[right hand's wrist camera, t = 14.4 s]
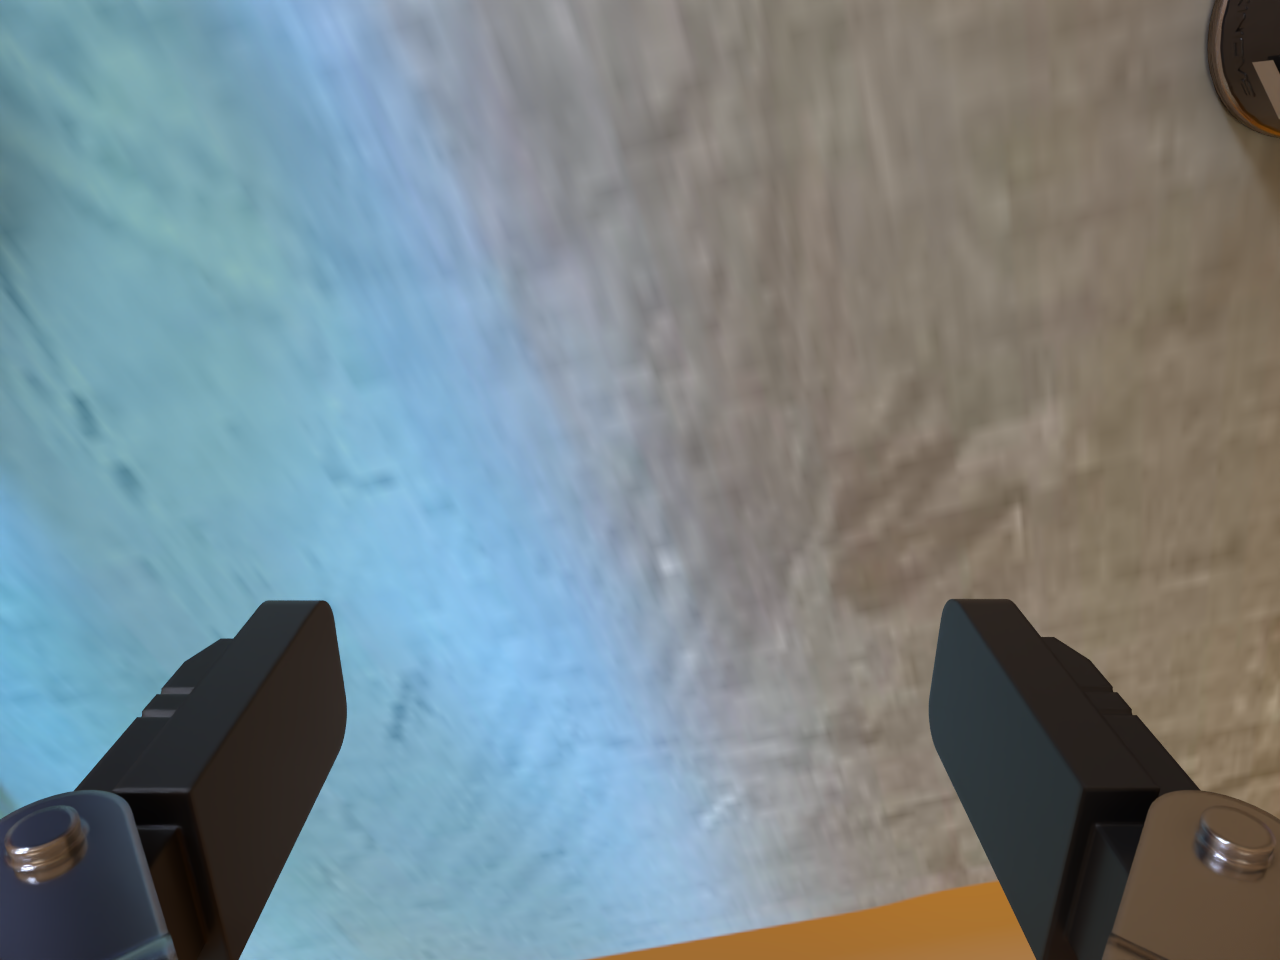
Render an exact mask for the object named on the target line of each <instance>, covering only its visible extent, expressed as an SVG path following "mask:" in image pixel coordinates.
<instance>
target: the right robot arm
mask: <svg viewBox="0 0 1280 960" xmlns="http://www.w3.org/2000/svg"><path fill="white" fill-rule="evenodd" d="M1208 62H1209V68H1210V73H1211V77H1212V80H1213V83H1214V86H1215V88H1216V91H1217V93H1218V95H1219V97H1220V99H1221V100H1222V102H1223V103H1224V105H1225V106H1226V108H1227V109H1228V110H1229V111H1230V112H1231V113H1232V115H1233V116H1234V117H1235V118H1237V119H1238V120H1239V121H1240V122H1241V123H1243V124H1244V125H1246V126H1247V127H1249V128H1251V129H1253V130H1255V131H1257V132H1259V133H1262V134H1265V135H1268V136H1273V137H1278V138H1280V0H1216V1H1215V4H1214V7H1213V11H1212V15H1211V20H1210V25H1209V33H1208ZM161 690H162V691H161V694H157V695H156V696H155V697H154V698H153V699H152V700H151V702H150V703H149V704H148V705H147V706H146V707H145V709H144V710H143V711H142V717H137V718H136V719H135V720H134V721H133V723H132V724H131V725H130V726H129V727H128V728H127V730H126V731H125V732H124V733H123V734H122V735H121V737H120V738H119V739H118V740H117V741H116V742H115V744H114V745H113V746H112V747H111V748H110V749H109V751H108V752H107V753H106V754H105V755H104V756H103V758H102V759H101V760H100V761H99V762H98V763H97V765H96V766H95V767H94V768H93V769H92V770H91V772H90V773H89V774H88V775H87V776H86V777H85V779H84V780H83V781H82V782H81V783H80V784H79V786H78V787H77V788H76V789H75V790H74V791H73V792H67V793H62V794H58V795H54V796H51V797H48V798H44V799H41V800H38V801H36V802H34V803H31V804H29V805H26V806H24V807H22V808H20V809H18V810H16V811H14V812H12V813H10V814H9V815H7V816H5V817H4V818H2V819H0V960H239V958H240V956H241V954H242V952H243V949H244V947H245V945H246V943H247V941H248V939H249V937H250V935H251V933H252V931H253V929H254V927H255V925H256V923H257V921H258V919H259V916H260V914H261V912H262V910H263V908H264V906H265V904H266V902H267V900H268V898H269V896H270V894H271V892H272V890H273V888H274V885H275V883H276V881H277V879H278V877H279V875H280V873H281V871H282V869H283V867H284V865H285V863H286V861H287V859H288V857H289V854H290V852H291V850H292V848H293V846H294V844H295V842H296V840H297V838H298V836H299V834H300V832H301V830H302V828H303V826H304V824H305V821H306V819H307V817H308V815H309V813H310V811H311V809H312V807H313V805H314V803H315V801H316V799H317V797H318V795H319V793H320V790H321V788H322V786H323V784H324V782H325V780H326V778H327V776H328V774H329V772H330V770H331V768H332V766H333V764H334V762H335V759H336V757H337V755H338V753H339V751H340V749H341V746H342V743H343V739H344V734H345V729H346V719H347V703H346V695H345V688H344V682H343V675H342V668H341V662H340V655H339V648H338V642H337V635H336V628H335V622H334V616H333V612H332V609H331V607H330V605H329V604H328V603H327V602H326V601H265V602H263V603H262V604H261V605H260V606H259V607H258V609H257V610H256V611H255V612H254V614H253V615H252V616H251V617H250V619H249V620H248V621H247V622H246V624H245V625H244V626H243V627H242V629H241V630H240V631H239V632H238V634H237V635H236V636H235V637H234V639H219V640H218V641H216V642H215V643H213V644H212V645H210V646H209V647H207V648H205V649H204V650H202V651H201V652H199V653H198V654H196V655H194V656H193V657H191V658H190V659H188V660H187V661H185V662H184V663H183V664H182V665H181V667H180V668H179V669H178V670H177V671H176V672H175V674H174V675H173V676H172V677H171V678H170V679H169V681H168V682H167V683H166V684H165V685H164V686H163V688H162V689H161ZM929 722H930V729H931V735H932V739H933V742H934V745H935V748H936V750H937V753H938V755H939V757H940V759H941V761H942V763H943V765H944V767H945V769H946V771H947V773H948V776H949V778H950V780H951V782H952V784H953V786H954V788H955V790H956V792H957V794H958V796H959V799H960V801H961V803H962V805H963V807H964V809H965V811H966V813H967V815H968V817H969V819H970V822H971V824H972V826H973V828H974V830H975V832H976V834H977V836H978V838H979V840H980V842H981V845H982V847H983V849H984V851H985V853H986V855H987V857H988V859H989V861H990V863H991V865H992V868H993V870H994V872H995V874H996V876H997V878H998V880H999V882H1000V884H1001V886H1002V888H1003V891H1004V893H1005V895H1006V897H1007V899H1008V901H1009V903H1010V905H1011V907H1012V909H1013V911H1014V914H1015V916H1016V918H1017V920H1018V922H1019V924H1020V926H1021V928H1022V930H1023V932H1024V934H1025V937H1026V939H1027V941H1028V943H1029V945H1030V947H1031V949H1032V951H1033V953H1034V955H1035V957H1036V960H1280V819H1278V818H1276V817H1275V816H1273V815H1271V814H1270V813H1268V812H1266V811H1264V810H1262V809H1260V808H1258V807H1256V806H1254V805H1251V804H1249V803H1246V802H1244V801H1242V800H1239V799H1236V798H1232V797H1229V796H1226V795H1222V794H1218V793H1213V792H1207V791H1201V790H1200V789H1199V788H1198V787H1197V786H1196V784H1195V783H1194V782H1193V781H1192V780H1191V779H1190V777H1189V776H1188V775H1187V774H1186V773H1185V772H1184V770H1183V769H1182V768H1181V767H1180V766H1179V764H1178V763H1177V762H1176V761H1175V760H1174V759H1173V757H1172V756H1171V755H1170V754H1169V753H1168V751H1167V750H1166V749H1165V748H1164V747H1163V746H1162V744H1161V743H1160V742H1159V741H1158V740H1157V739H1156V737H1155V736H1154V735H1153V734H1152V733H1151V731H1150V730H1149V729H1148V728H1147V727H1146V726H1145V724H1144V723H1143V722H1142V721H1141V720H1140V719H1139V717H1138V716H1137V715H1132V709H1131V708H1130V707H1129V706H1128V704H1127V703H1126V702H1125V701H1124V700H1123V699H1122V697H1121V696H1120V695H1119V694H1118V693H1117V692H1113V687H1112V686H1111V684H1110V683H1109V682H1108V681H1107V680H1106V679H1105V677H1104V676H1103V675H1102V674H1101V673H1100V671H1099V670H1098V669H1097V668H1096V667H1095V666H1094V664H1093V663H1092V662H1091V661H1090V660H1089V659H1087V658H1086V657H1084V656H1083V655H1081V654H1080V653H1078V652H1076V651H1075V650H1073V649H1072V648H1070V647H1069V646H1067V645H1066V644H1064V643H1062V642H1061V641H1059V640H1058V639H1056V638H1055V637H1041V636H1040V635H1039V634H1038V633H1037V631H1036V630H1035V629H1034V628H1033V626H1032V625H1031V624H1030V622H1029V621H1028V620H1027V619H1026V617H1025V616H1024V615H1023V614H1022V612H1021V611H1020V610H1019V609H1018V607H1017V606H1016V605H1015V604H1014V603H1013V602H1012V601H1011V600H1009V599H950V600H949V601H947V603H946V604H945V606H944V609H943V612H942V617H941V623H940V630H939V637H938V643H937V650H936V657H935V664H934V670H933V677H932V684H931V691H930V698H929Z"/></svg>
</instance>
